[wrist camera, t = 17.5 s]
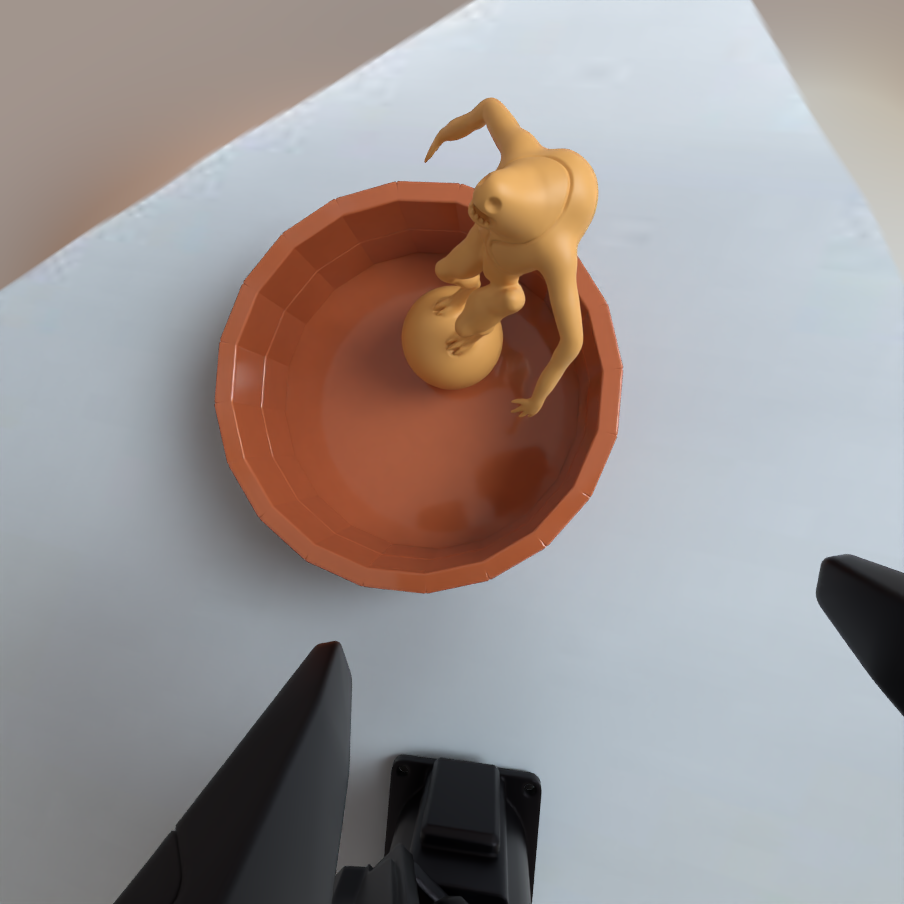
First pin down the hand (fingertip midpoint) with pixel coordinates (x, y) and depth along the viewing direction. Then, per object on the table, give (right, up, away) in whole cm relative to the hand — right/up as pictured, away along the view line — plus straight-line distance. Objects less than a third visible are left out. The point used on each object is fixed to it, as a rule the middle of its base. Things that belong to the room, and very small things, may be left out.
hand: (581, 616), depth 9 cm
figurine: (-1, +8, +12) cm, 15 cm away
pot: (-3, +5, +13) cm, 14 cm away
